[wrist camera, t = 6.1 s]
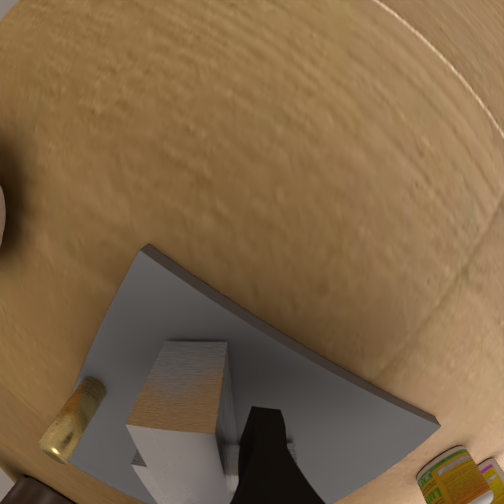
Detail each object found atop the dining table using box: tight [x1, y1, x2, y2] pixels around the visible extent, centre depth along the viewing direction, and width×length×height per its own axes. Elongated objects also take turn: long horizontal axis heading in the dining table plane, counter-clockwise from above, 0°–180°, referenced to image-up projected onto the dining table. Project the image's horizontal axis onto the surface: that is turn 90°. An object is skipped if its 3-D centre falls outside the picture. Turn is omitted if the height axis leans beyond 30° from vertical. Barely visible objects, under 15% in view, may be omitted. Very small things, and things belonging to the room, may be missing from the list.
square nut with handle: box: [126, 341, 298, 504], centre depth 10 cm, size 14×8×4 cm, turn 2°
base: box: [68, 244, 441, 504], centre depth 12 cm, size 20×20×5 cm
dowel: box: [39, 376, 107, 464], centre depth 9 cm, size 1×1×5 cm
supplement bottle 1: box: [417, 446, 493, 504], centre depth 11 cm, size 5×5×10 cm
